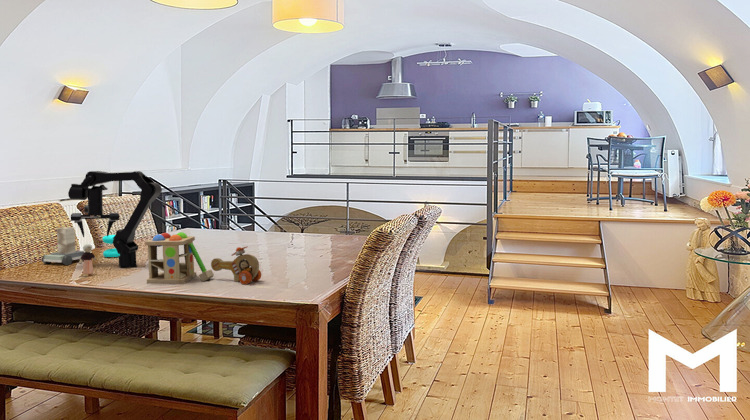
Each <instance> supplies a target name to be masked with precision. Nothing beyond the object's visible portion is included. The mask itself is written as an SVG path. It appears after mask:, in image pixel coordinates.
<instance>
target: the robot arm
mask: <svg viewBox="0 0 750 420" xmlns="http://www.w3.org/2000/svg"><path fill="white" fill-rule="evenodd" d="M84 177H85V178H84V179H83V181H82V182H81V183H71V185H70V188H68V189H69V190H68V194H67V195H68V198H69V199H70V200H74V201H76V200H77V201H78V200H80V201H86V200H87V204H84V206H83V207H84V212H83V213H84V214H82V213H81V212H72V213H71V214H70V221H72V222H74V224H77V226H78V227H79V230H80V232H81V235H82V237H83V238H85V230H84V225H83V220H93V219H95V220H99V219H102V220H103V219H104V220H105V219H106V220H107V219H108V222H107V229H106V230H107V231H106V236H107V237H108V235H110V231H111V229H112V226H113V225H114V223H117V221H120V213H118V212H108V213H109V214H103V213H104V208H103V207H104V206H103V205H104V204H103V199H104V198H103V191H108V189H109V188H108V187H106V186H105V184H106V183H110V182H125V181H128V182H129V181H134V182H135V184H136V185H137V187H138V189H140V190H141V191H140V195H139V196H140V197H139V201H138V203H137V205H136V206H135V208H134V210H133V212H132V213H131V216H130V217H129V220H128V221H127V223H126V225H125V226H124V228H121V229H117V230H116V232H115V234H114V235H115V236H114V237H113V239H114V240H113V244H112V245H113V246H114V247H113V248H116V250H117V252H118V254H120V256H119V257H118V266H119V268H120V269H121V268H123V269H125V268H136V267H138V264H137V252H138V250H139V245H138V244H137V243H136V242H135V241H134V240H135V238H136V237H135V235H136V231H137V229H138V227H139V226H140V223H141V222H142V220H143V218H144V216H145V215H146V212H147V211H148V209H149V208H150V206H151V204H152V203H153V202H154V201H155V200H156V199H158V197H159V196H160V195H161V193H162V191H163V188H162V186H161V184H159V183H158V182H155V181H154V180H153V179H151V178H150V177H148V176H147V175H146V174H145V173H143V172H142V171H140V170H138V171H137V170H135V171H125V172H107V171H101V170H100V171H99V170H91V171H88V172H87V173H86V174H85V176H84ZM90 187H91V188H90Z"/></svg>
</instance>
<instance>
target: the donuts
mask: <svg viewBox="0 0 750 420" xmlns="http://www.w3.org/2000/svg"><path fill="white" fill-rule="evenodd" d="M115 235H116V234H109V235H108V237H107V235H104V236H103V237H102V241H103V243H105V244H109V245H113V240H114V239H113V237H114V236H115ZM102 256H103V257H104V258H107V257H116V258H119V256H120V254H118V252H117V250H116V248H115V247H113V248H108V249H106V250H103V252H102Z"/></svg>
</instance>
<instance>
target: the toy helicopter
mask: <svg viewBox="0 0 750 420" xmlns="http://www.w3.org/2000/svg"><path fill="white" fill-rule="evenodd" d="M247 248H249V247H248V246H244V247H241V246H239V247H237V248H236V249H235V252H234V253H232V254H231V257H233V256H237V257H236V258H234V259H233V260H222V258H219V257H217V258H216V257H215V258H213V259H212V260H211V262H210V266H211V270H212V271H215V272H218V271H222V270H227V271H231V272H232V275H233V280H234V281H235V282H237V283H238V282H240V284H242V285H249V284H250V283H251V282H256V281H257V282H258V281H260V279H261V278H262V272H261V270H260V262H259V259H258V258H257V257H256V256H255V255H252V254H249V253H246V250H245V249H247Z"/></svg>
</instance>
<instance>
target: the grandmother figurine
mask: <svg viewBox="0 0 750 420" xmlns="http://www.w3.org/2000/svg"><path fill="white" fill-rule="evenodd" d="M92 248H93V247H92V245H91V244H90V243H85V244H84V245H83V246H82V251H85V253H83V255H82V257H81V258H80V259H79V262H78V265H82V264H83V265H82V277H89V276H94V275H95V274H94V266H93V261H95V262H96V261H97V258H96V256H95V254H94V253H93V252H91V251H92ZM92 260H93V261H92Z"/></svg>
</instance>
